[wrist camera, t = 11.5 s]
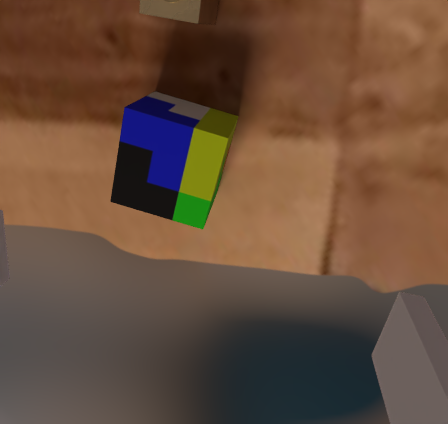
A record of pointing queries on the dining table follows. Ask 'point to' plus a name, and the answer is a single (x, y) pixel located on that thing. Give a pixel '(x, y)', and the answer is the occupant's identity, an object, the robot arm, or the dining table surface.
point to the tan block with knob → (182, 10)
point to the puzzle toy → (171, 157)
